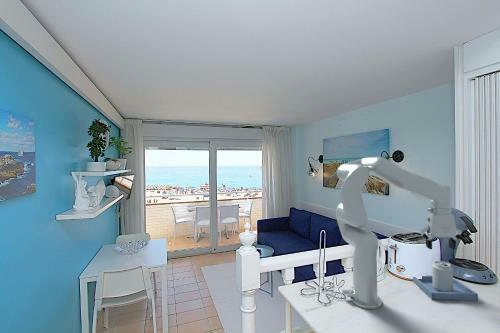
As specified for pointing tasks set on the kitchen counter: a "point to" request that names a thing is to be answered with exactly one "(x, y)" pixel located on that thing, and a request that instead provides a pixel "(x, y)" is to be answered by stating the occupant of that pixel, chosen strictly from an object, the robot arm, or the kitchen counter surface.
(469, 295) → the tray
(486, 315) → the kitchen counter surface
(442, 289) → the can
